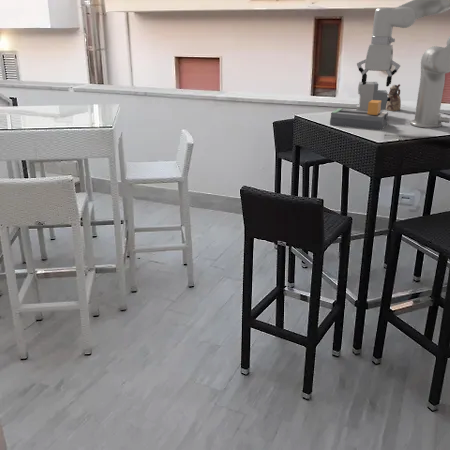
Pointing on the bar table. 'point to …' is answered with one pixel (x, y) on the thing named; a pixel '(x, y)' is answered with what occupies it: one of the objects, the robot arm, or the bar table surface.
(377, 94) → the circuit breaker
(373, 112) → the toggle
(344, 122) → the switch panel
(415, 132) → the bar table surface
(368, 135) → the bar table surface
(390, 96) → the figurine
